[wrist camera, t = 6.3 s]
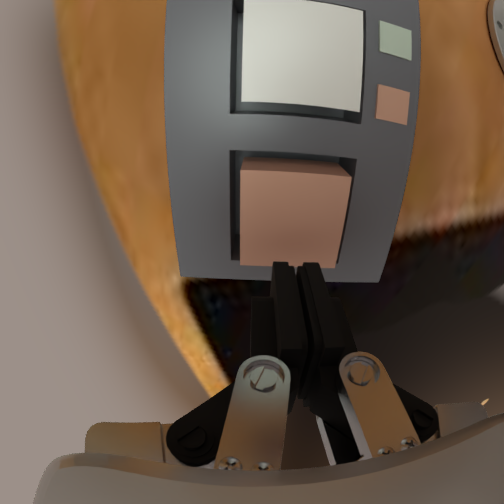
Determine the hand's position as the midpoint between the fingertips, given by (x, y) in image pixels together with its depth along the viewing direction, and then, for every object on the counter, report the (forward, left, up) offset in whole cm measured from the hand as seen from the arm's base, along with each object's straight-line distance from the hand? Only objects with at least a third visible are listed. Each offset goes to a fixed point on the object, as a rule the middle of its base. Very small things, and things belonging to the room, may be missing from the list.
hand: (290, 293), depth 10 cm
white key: (-1, -9, -8) cm, 12 cm away
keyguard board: (-1, -9, -11) cm, 15 cm away
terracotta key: (-1, 0, -8) cm, 8 cm away
